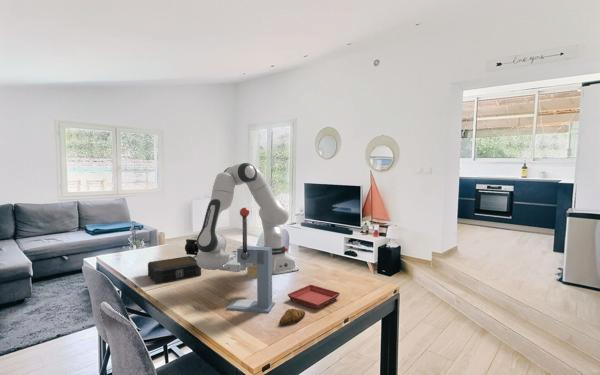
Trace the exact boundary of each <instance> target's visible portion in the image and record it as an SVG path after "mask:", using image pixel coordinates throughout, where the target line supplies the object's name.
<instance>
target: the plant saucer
mask: <svg viewBox="0 0 600 375" xmlns="http://www.w3.org/2000/svg"><path fill="white" fill-rule="evenodd" d="M340 295H341V293H340V292H339V291H338V292H337V291H335V290H331V289H327V288H325V287H320V286H317V285H313V284H309V285H306V286H303V287H302V288H299V289H296V290H294V291H292V292H290V293H288V294H287V296H288V298H289V299H290V300H291V301H293V302H296V303H298V304H300V305H305V306H307V307H311V308H313V309H316V310H317V309H319V308H321V307H323V306H326V305H327V304H329V303H330V302H333V301H335V300H336V299H337V298H338V297H339V296H340Z"/></svg>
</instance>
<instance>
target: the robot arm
mask: <svg viewBox="0 0 600 375" xmlns="http://www.w3.org/2000/svg"><path fill="white" fill-rule="evenodd" d="M214 179H215V180H214V182H213V186H212V190H211V191H212V192H211V197H210V200H209V202H208V205H207V208H206V211H205V215H204V220H203V225H202V227H201V229H200V232H199V233H198V234H197V235H198V237H197V241H196V243H197V247H198V249H199V250H200V252H199V253H198V254H197V257H196V261H197V264H198V266H199V267H200V268H201V270H209V271H215V270H219V271H223V272H224V271H225V272H230V273H231V272H232V273H240V272H241V271H242V270H240V263H237V250H233V251H227V252H225V251H226V247H227V239H226V237H225V236H224V235H222V234H220V233H217V232H216V230H217V226H218V220H219V217H220V214H221V213H222V212H223V211H225V210H228V209H229V208H230V207H231V206H232V203H233V201H234V200H233V199H234V192H235V187H236V186H241V185H243V184H245V185H246V186H247V188H248V190H249V192H250V194H251V195H252V197H253V199H254V201H255V203H256V204H258V206H259V207H260V208H259V210H258V216H259V217H260V220H261V224H262V229H263V239H264V240H263V247H272V275H273V274H274V275H280V274H285V273H286V274H287V273H292V271H293V272H297V270H298V271H299V270H300V267H299V266H298V265H297V264H296V261H295V258H294V257H293V256H291V255H290V254H289V253H288V251H289V248H288V247H286V246H284V245H283V244H284V243H283V242H284V240H283V238H284V237H283V232H282V229H281V227H280V226H281V225H285V224H286V223H287V222H288V220H289V212H288V211H287V209H286V208H285V207H284V206H283V205H282V203H281V201H279V200H278V198H277V197H276V195H275V194H274V192H273V191H272V188H271V186H270V185H269V183H268V182H267V180H266V177H265V176H264V174H263V173H262V172H261V170H260V169H259V168H257V167H255V166H254V165H253V164H251V163H248V162H243V163H238V164H234V165H233V166H230V167H227V168H225V169H224V170H223V171H222V172H220V173H218V174H217V175H216V177H215V178H214ZM253 266H254V264H253V263H246V269H247V267H253Z"/></svg>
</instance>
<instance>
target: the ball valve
mask: <svg viewBox="0 0 600 375" xmlns="http://www.w3.org/2000/svg"><path fill="white" fill-rule="evenodd" d="M198 235H199V234H195V236H192V237H190V238H187V239H185V245H184V251H185V252H186V256H187V255H188V256H191V255H192V257H193V258H194V259H196V257H197V254H198V253H199V252H200V250H199V249H198V247H197V243H196V241H197V237H198Z"/></svg>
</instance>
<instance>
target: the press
mask: <svg viewBox="0 0 600 375" xmlns="http://www.w3.org/2000/svg"><path fill="white" fill-rule="evenodd" d="M236 251H237V263H240V270H241V271H243V272H244V271H247V270H246V269H247V268H246V263H253V264H257V277H256V278H257V279H256V285H257V286H256V287H257V289H256V290H257V291H256V292H257V294H256V295H257V298H256V300H253V299H241V298H239V299H237V298H236V299H235V298H234V299H233V300H232V301H231V302H230V303H229V304H228V305H227V307H225V308H226V310H228V311H238V312H240V311H242V312H250V313H251V312H252V313H263V314H269V313H270V312H271V310H272V309H273V307H275V301H273V273H272V247H264V246H254V245H247V252H248V253H249V257H248V258H247V259H246V260H243V259H242V258H241V254H242V253H243V245H241V246H240V247H238V248H236Z"/></svg>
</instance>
